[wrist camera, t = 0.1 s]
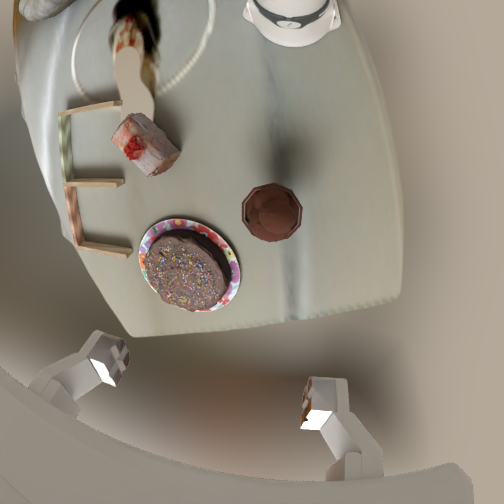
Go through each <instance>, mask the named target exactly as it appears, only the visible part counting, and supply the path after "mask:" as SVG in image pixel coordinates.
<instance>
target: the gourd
mask: <svg viewBox="0 0 504 504" xmlns="http://www.w3.org/2000/svg"><path fill="white" fill-rule="evenodd" d="M73 2H75V0H20V3H19V11H20V13H21V14H22V15H23V16H24V17H25V18H26V19H27V20H29V21H39V20H44V19H47V18H50V17H53V16H56V15H57V14H59V13H60V12H62V11H63V10H64V9H65V8H67V7H68V6H70V5H71V4H72V3H73Z"/></svg>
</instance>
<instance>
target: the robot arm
mask: <svg viewBox="0 0 504 504" xmlns="http://www.w3.org/2000/svg"><path fill="white" fill-rule="evenodd" d="M243 17H244V18H245V19H246V20H248V21H249V22H251V23H253V24H254V25H255V26H256V27H257V28H258V30H259V31H260V32H261V33H262V34H263V35H264V36H265V37H266V38H267V39H269V40H270V41H272V42H274V43H277V44H280V45H283V46H289V47H300V46H306V45H309V44H312V43H314V42H316V41H318V40H319V39H320V38H322V37H323V36H324V35H325V34H326V33H327V32H328V31H331V30H334V29H337V28H339V27H340V25H341V19H340V15H339V10H338V6H337V1H336V0H247V3H246V6H245V9H244V11H243ZM334 17H335V18H336V19H334ZM125 345H126V343H125V341H124V339H121V338H118V337H115V336H112V335H109V334H106V333H104V332H101V331H98V330H96V331H94V332H93V333H92V335H91V336H90V337H89V339H88V340H87V341H86V343H85V344H84V346H83V347H82V348H81V350H80V351H79V353H74V354H72V355H70V356H68V357H66V358H64V359H61V360H59V361H57V362H55V363H53V364H51V365H49V366H47V367H45V368H43V369H41V370H40V371H39V372H38V374H37V375H36V377H35V378H34V380H33V381H32V383H31V384H30V386H29V387H28V388H27V387H25V386H24V385H23V384H21V383H20V382H19V381H18V380H16V379H15V378H14V377H12V376H11V375H10V374H9V373H7V372H6V371H5V370H4V369H3V368H2V367H0V504H474V494H473V484H472V481H471V479H470V477H469V476H468V475H467V474H466V473H465V472H464V471H463V470H462V469H461V468H460V467H459V466H458V465H457V464H455V463H446V464H442V465H439V466H435V467H431V468H427V469H423V470H419V471H414V472H409V473H404V474H399V475H393V476H386V477H384V473H383V456H382V449H381V448H380V447H379V445H378V444H377V443H376V441H375V440H374V439H373V438H372V436H371V435H370V434H369V433H368V431H367V430H366V429H365V428H364V426H363V425H362V424H361V422H360V421H359V420H358V419H357V417H356V416H355V415H354V413H353V412H349V399H348V398H349V397H348V386H347V380H346V379H338V378H326V377H325V378H324V377H310V378H309V380H308V386H306V387H305V390H304V393H303V399H302V407H303V409H304V411H303V413H302V415H301V428H304V429H316V430H320V432H321V434H322V436H323V437H324V439H325V441H326V442H327V444H328V446H329V448H330V449H331V451H332V452H333V454H334V456H335V458H336V460H337V462H336V463H335V464H333V465H332V466H330V467H329V468H328V469H326V479H325V482H324V481H320V482H315V481H286V480H274V479H264V478H254V477H247V476H241V475H235V474H229V473H224V472H219V471H214V470H210V469H205V468H201V467H197V466H193V465H189V464H185V463H182V462H178V461H175V460H172V459H168V458H165V457H162V456H159V455H156V454H153V453H150V452H148V451H145V450H142V449H140V448H137V447H134V446H132V445H129V444H127V443H125V442H122V441H120V440H118V439H115V438H113V437H111V436H109V435H106V434H104V433H102V432H100V431H98V430H96V429H94V428H92V427H90V426H88V425H86V424H84V423H82V422H81V421H79V420H77V419H76V418H77V416H78V414H79V412H80V407H79V406H78V405H77V403H76V402H75V400H76V399H78V398H79V397H81V396H82V395H84V394H85V393H87V392H88V391H90V390H91V389H92V388H94V387H95V386H97V385H98V384H100V383H101V382H102V381H103V382H105V383H108V384H111V385H113V386H117V385H118V383H119V381H120V379H121V377H122V372H121V371H123V370H125V369H126V368H127V366H128V364H129V361H130V354H129V351H128V350H127V349H126V348H125Z"/></svg>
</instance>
